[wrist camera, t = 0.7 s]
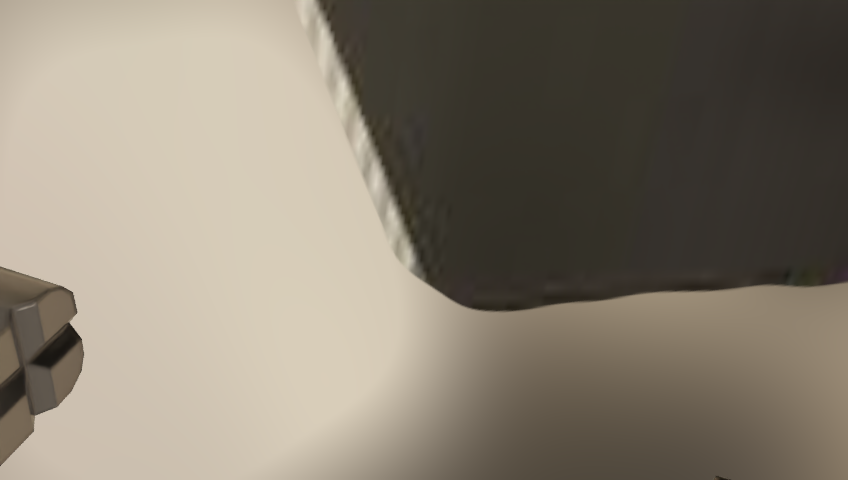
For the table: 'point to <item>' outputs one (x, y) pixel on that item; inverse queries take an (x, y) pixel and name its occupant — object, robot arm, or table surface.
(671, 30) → the table surface
